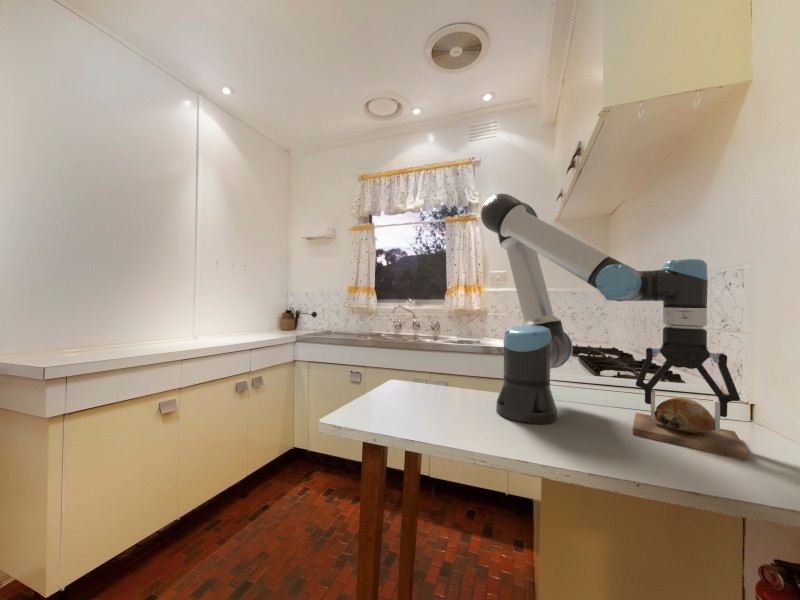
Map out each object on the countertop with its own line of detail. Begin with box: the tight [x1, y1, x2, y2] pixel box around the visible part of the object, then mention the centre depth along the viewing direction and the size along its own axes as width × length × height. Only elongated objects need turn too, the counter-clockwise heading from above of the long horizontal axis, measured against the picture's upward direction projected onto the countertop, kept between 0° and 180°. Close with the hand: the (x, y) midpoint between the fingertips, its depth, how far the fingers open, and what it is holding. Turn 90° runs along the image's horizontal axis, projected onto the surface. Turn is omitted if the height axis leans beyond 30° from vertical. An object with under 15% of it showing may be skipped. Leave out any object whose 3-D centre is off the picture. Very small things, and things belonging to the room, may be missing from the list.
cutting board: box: [632, 412, 749, 461], centre depth 72 cm, size 18×14×2 cm
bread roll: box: [655, 397, 714, 433], centre depth 72 cm, size 10×10×8 cm
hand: (683, 424), depth 72 cm, fingers closed on bread roll, 10 cm apart
